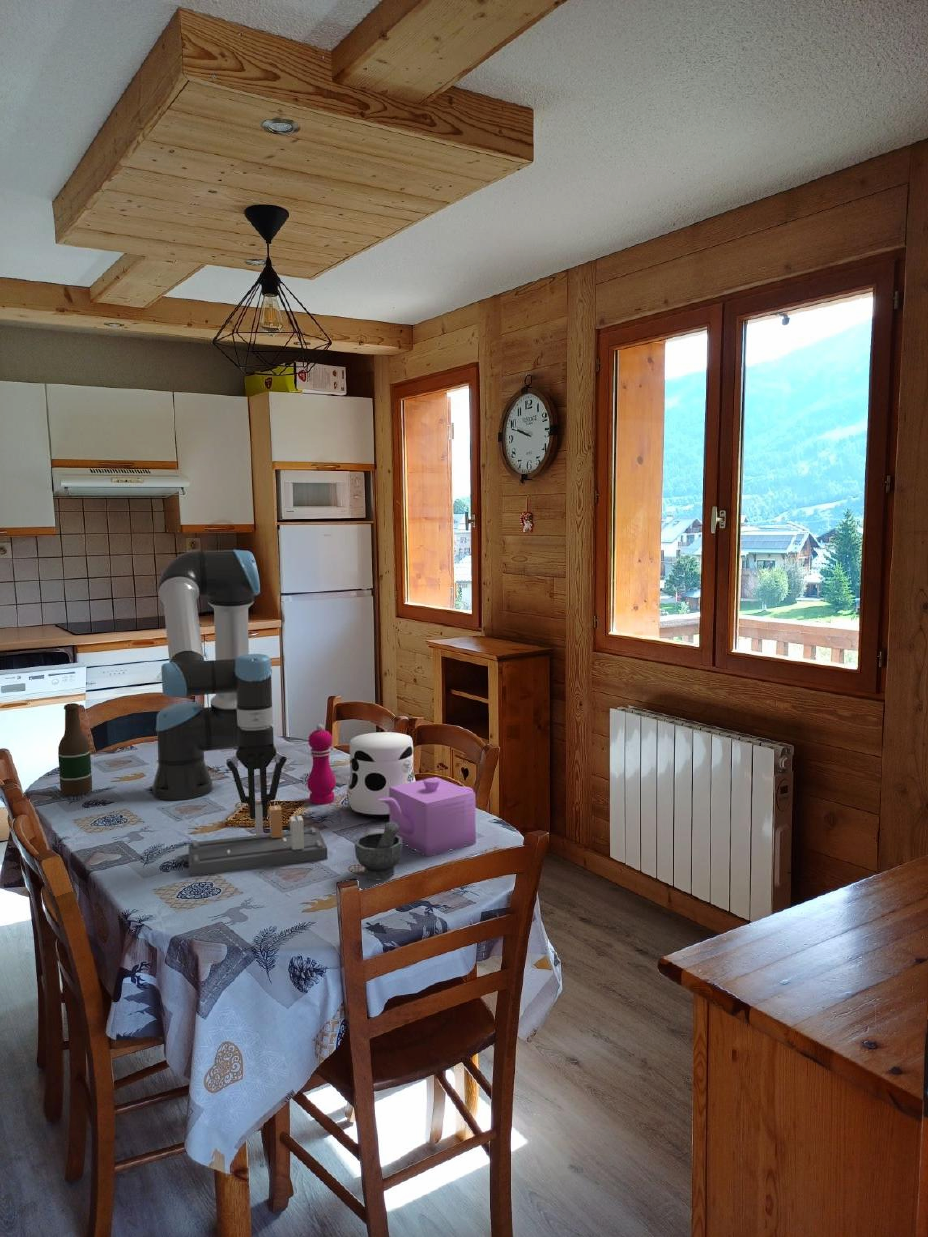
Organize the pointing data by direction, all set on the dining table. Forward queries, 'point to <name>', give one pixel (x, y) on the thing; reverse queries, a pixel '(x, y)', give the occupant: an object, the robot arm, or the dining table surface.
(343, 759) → the dining table surface
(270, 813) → the orange fader
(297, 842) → the block
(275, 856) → the console
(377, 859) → the mortar and pestle
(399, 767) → the cow-print canister
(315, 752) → the pepper mill
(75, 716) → the beer bottle
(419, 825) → the teapot
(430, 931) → the dining table surface
